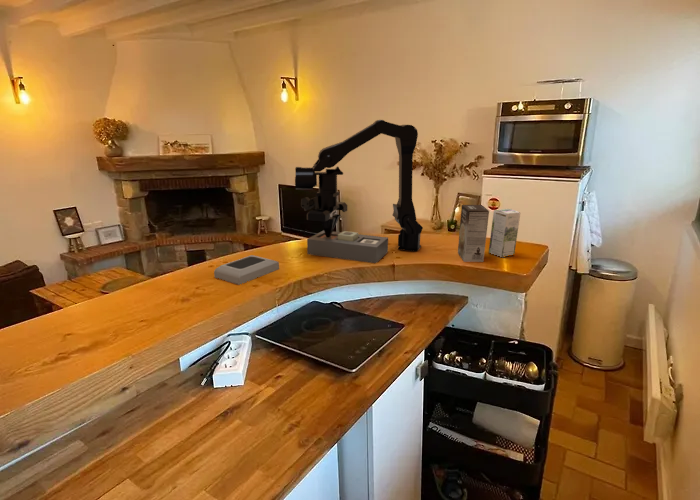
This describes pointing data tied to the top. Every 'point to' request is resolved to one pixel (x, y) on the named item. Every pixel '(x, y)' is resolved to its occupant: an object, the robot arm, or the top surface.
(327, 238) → the terracotta key
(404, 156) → the robot arm
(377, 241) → the cream key
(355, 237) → the sage key
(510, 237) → the syrup box
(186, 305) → the top surface
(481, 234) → the coffee box
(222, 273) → the grey flat block
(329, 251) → the gray keypad housing
